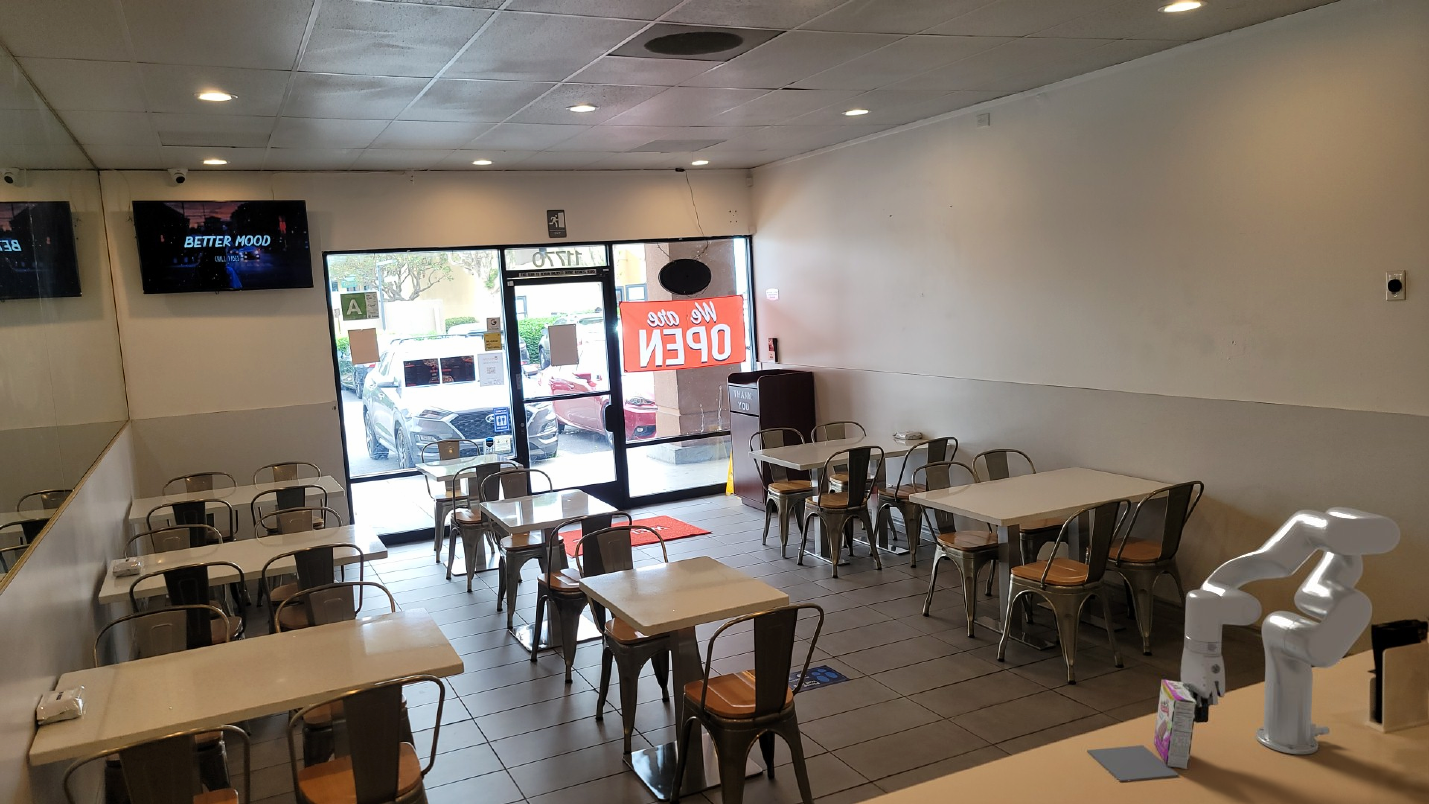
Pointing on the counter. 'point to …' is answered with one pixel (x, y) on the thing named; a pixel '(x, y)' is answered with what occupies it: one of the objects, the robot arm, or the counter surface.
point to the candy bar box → (1175, 724)
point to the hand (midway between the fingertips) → (1199, 720)
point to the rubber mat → (1132, 763)
